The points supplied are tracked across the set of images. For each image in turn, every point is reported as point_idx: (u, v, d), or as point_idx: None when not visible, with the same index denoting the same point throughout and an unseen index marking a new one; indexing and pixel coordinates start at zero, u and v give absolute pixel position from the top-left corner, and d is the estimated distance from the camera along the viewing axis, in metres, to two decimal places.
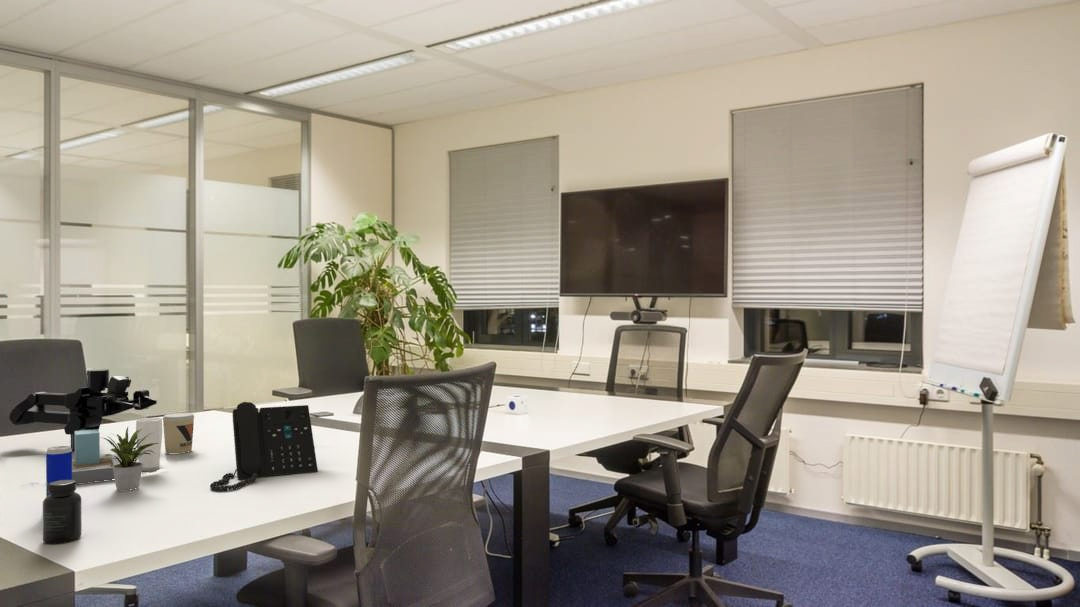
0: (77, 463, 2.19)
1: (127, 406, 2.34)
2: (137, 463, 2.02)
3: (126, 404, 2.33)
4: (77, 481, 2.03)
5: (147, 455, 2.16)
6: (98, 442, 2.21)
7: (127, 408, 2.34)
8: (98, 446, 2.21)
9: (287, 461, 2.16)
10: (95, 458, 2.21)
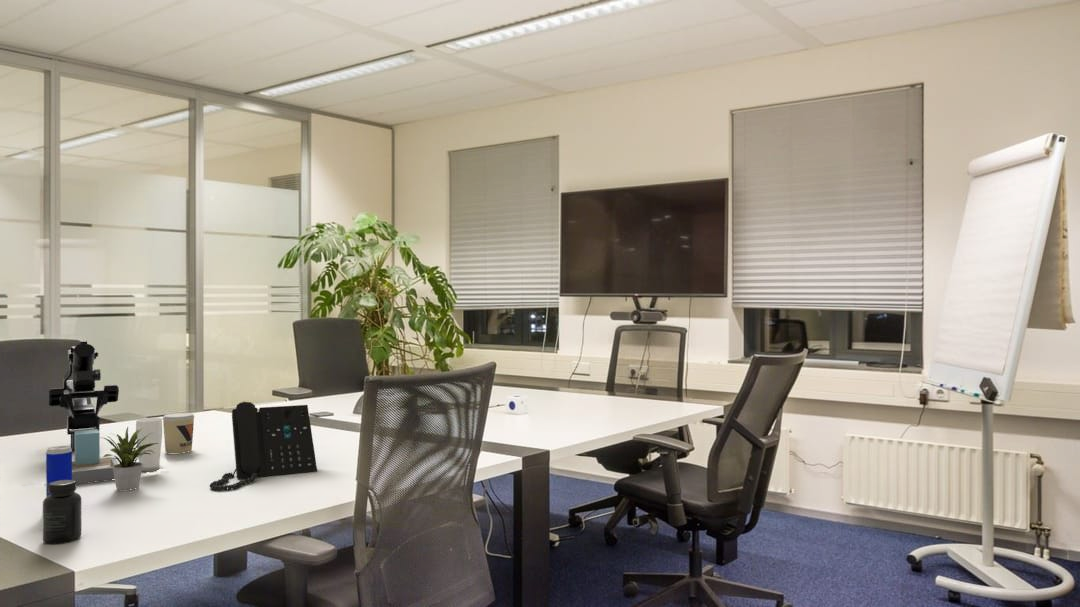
0: (77, 463, 2.19)
1: (71, 412, 2.31)
2: (137, 463, 2.02)
3: (71, 411, 2.30)
4: (77, 481, 2.03)
5: (147, 455, 2.16)
6: (98, 442, 2.21)
7: (71, 414, 2.31)
8: (98, 446, 2.21)
9: (286, 461, 2.17)
10: (95, 458, 2.21)
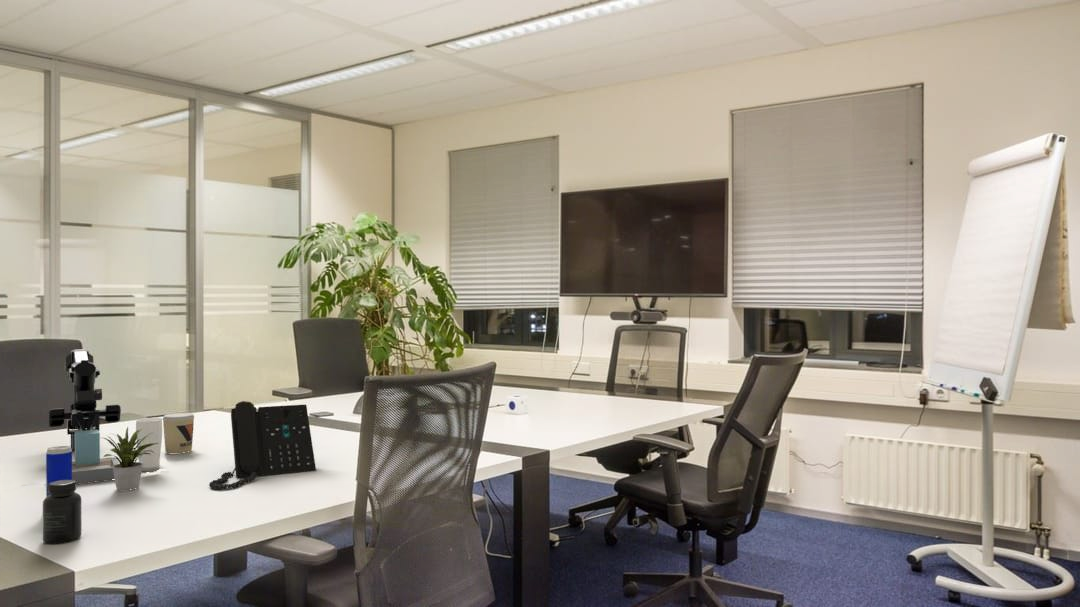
0: (77, 464, 2.18)
1: None
2: (137, 463, 2.02)
3: None
4: (77, 481, 2.03)
5: (147, 455, 2.16)
6: (98, 442, 2.21)
7: None
8: (98, 446, 2.21)
9: (285, 460, 2.18)
10: (95, 458, 2.20)
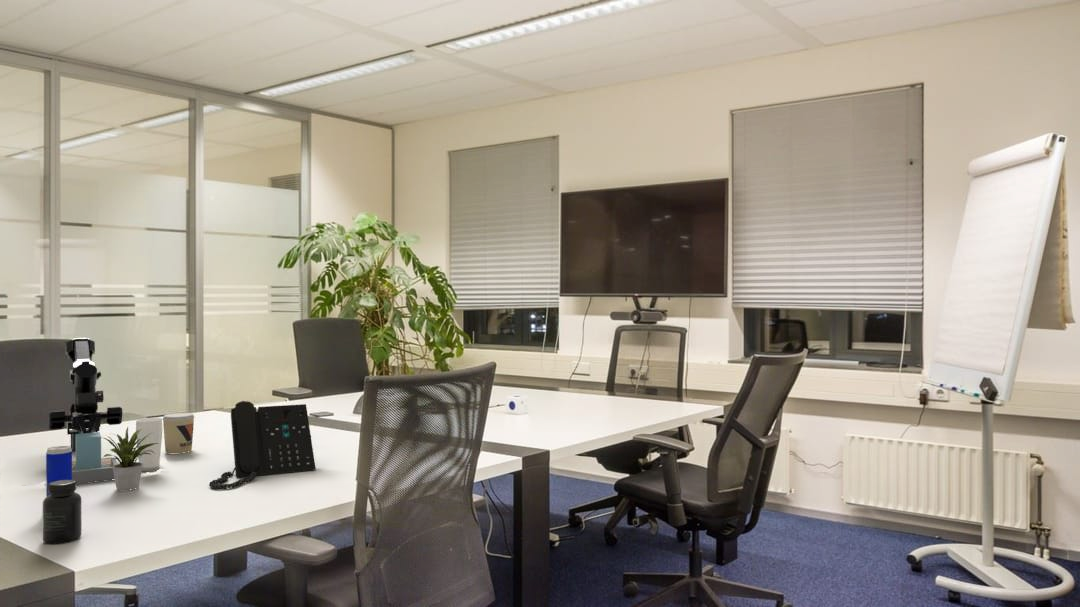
0: (78, 467, 2.13)
1: None
2: (137, 463, 2.02)
3: None
4: (77, 481, 2.03)
5: (147, 455, 2.16)
6: (100, 446, 2.16)
7: None
8: (100, 450, 2.16)
9: (285, 460, 2.18)
10: (96, 462, 2.16)
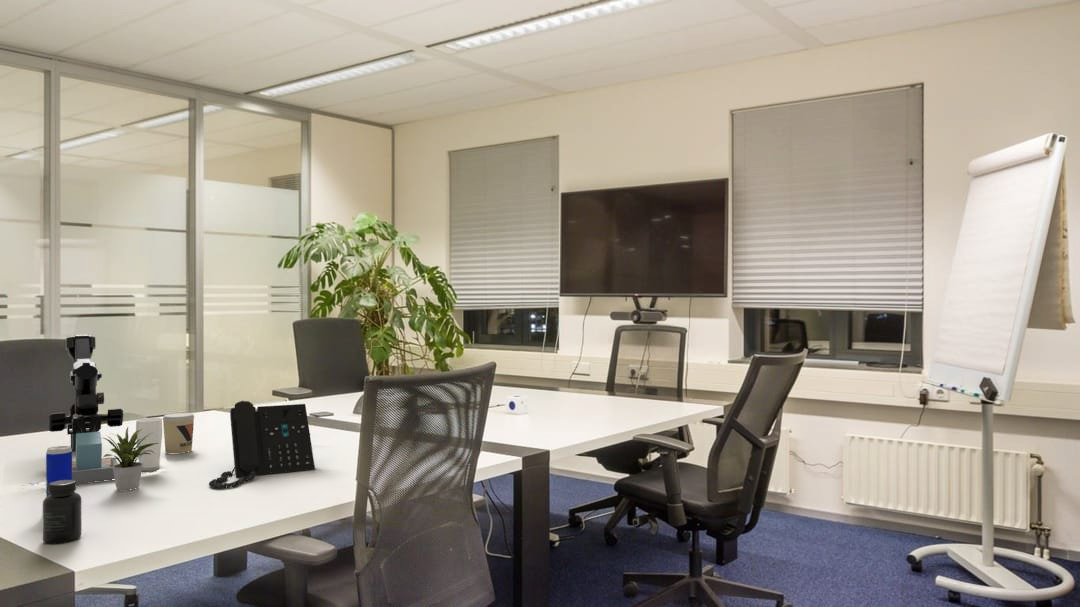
0: None
1: None
2: (137, 463, 2.02)
3: None
4: (77, 481, 2.03)
5: (147, 455, 2.16)
6: (100, 452, 2.14)
7: None
8: (100, 455, 2.15)
9: (285, 459, 2.19)
10: (96, 466, 2.15)
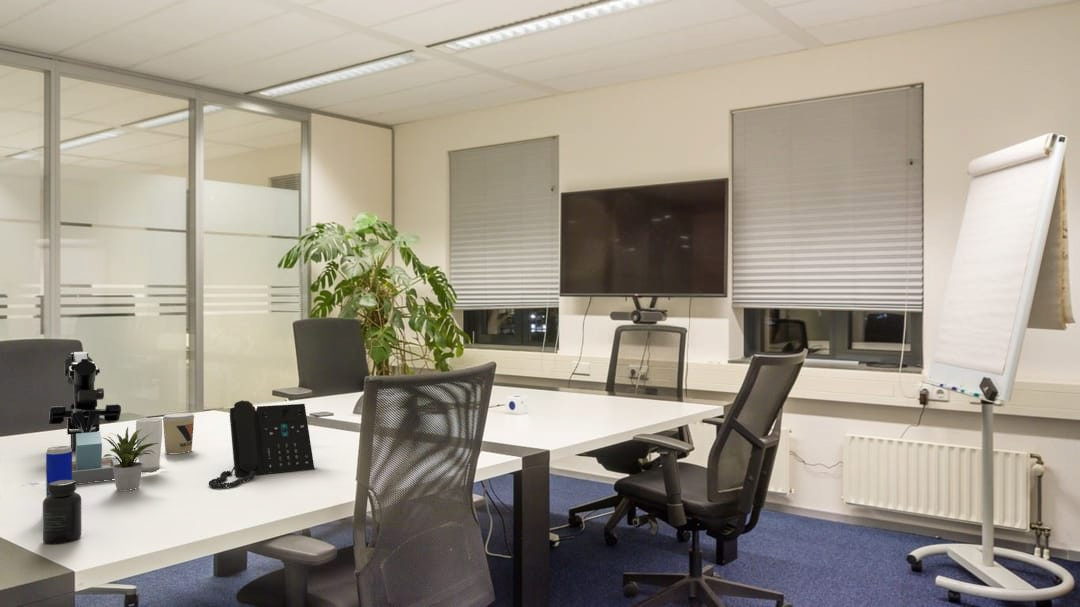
0: None
1: (83, 431, 2.28)
2: (137, 463, 2.02)
3: (83, 430, 2.27)
4: (77, 481, 2.03)
5: (147, 455, 2.16)
6: (100, 452, 2.14)
7: None
8: (100, 455, 2.15)
9: (284, 459, 2.19)
10: (96, 466, 2.15)
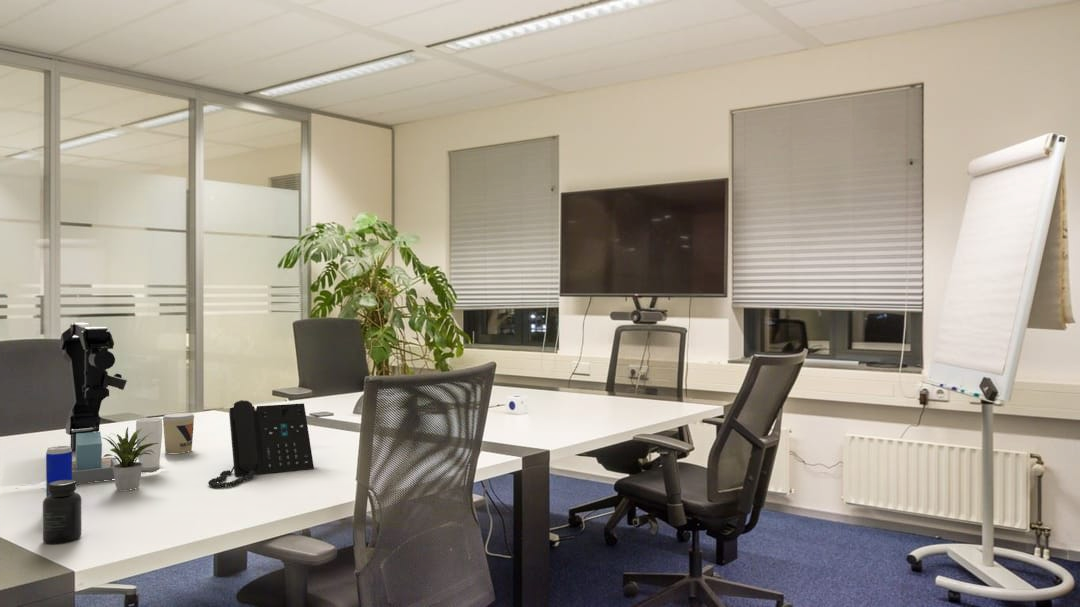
0: None
1: (95, 411, 2.33)
2: (137, 463, 2.02)
3: (97, 411, 2.33)
4: (77, 481, 2.03)
5: (147, 455, 2.16)
6: (100, 452, 2.14)
7: (92, 412, 2.33)
8: (100, 455, 2.15)
9: (284, 458, 2.20)
10: (96, 466, 2.15)
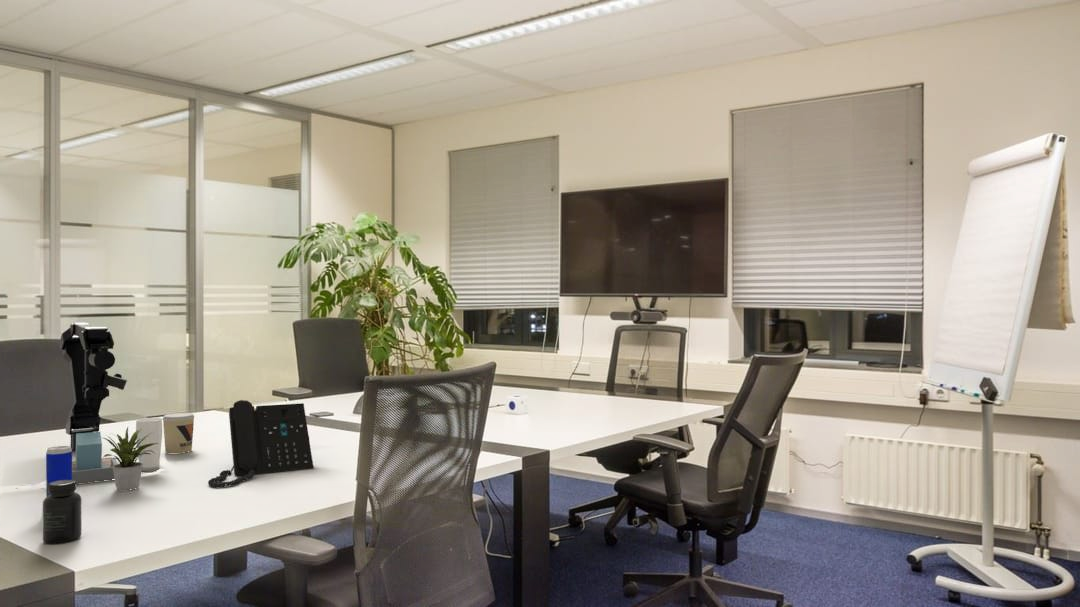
0: None
1: (95, 411, 2.33)
2: (137, 463, 2.02)
3: (97, 411, 2.33)
4: (77, 481, 2.03)
5: (147, 455, 2.16)
6: (100, 452, 2.14)
7: (92, 412, 2.33)
8: (100, 455, 2.15)
9: (283, 458, 2.20)
10: (96, 466, 2.15)
